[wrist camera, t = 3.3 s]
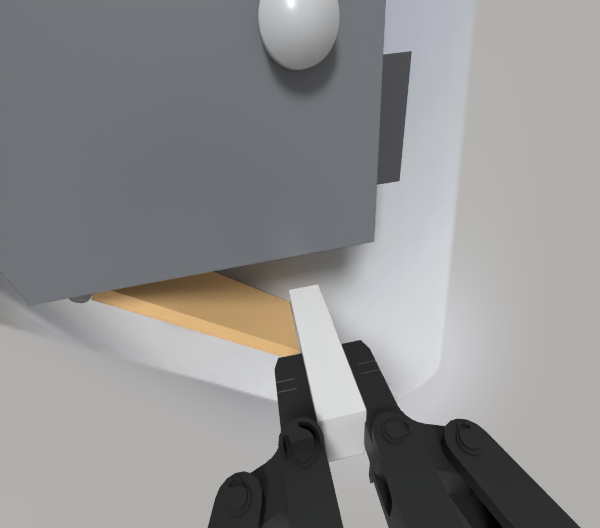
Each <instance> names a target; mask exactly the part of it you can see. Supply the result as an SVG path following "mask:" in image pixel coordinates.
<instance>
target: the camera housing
mask: <svg viewBox="0 0 600 528" xmlns="http://www.w3.org/2000/svg"><path fill="white" fill-rule="evenodd" d="M385 5H386V0H0V272H1V273H2V274H3V276H4V277H5V278H6V279H7V280H8V281H9V283H10V284H11V285H12V286H13V287H14V288H15V290H16V291H17V292H18V293H19V294H20V296H21V297H22V298H23V299H24V300H25V301H26V303H27V304H28V305H34V304H39V303H45V302H50V301H56V300H61V299H66V298H72V297H77V296H83V295H88V294H93V293H99V292H104V291H110V290H115V289H120V288H126V287H131V286H137V285H142V284H147V283H153V282H158V281H164V280H169V279H174V278H180V277H185V276H191V275H196V274H201V273H207V272H212V271H218V270H223V269H228V268H234V267H239V266H245V265H250V264H255V263H261V262H266V261H272V260H277V259H282V258H288V257H293V256H299V255H304V254H310V253H315V252H320V251H326V250H331V249H337V248H342V247H347V246H353V245H358V244H364V243H369V242H374V231H375V211H376V190H377V185H378V184H384V183H390V182H396V181H399V180H400V170H401V159H402V148H403V137H404V127H405V116H406V105H407V95H408V84H409V73H410V62H411V52H412V51H410V52H402V53H393V54H385V55H383V46H384V26H385Z"/></svg>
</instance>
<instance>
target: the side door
mask: <svg viewBox="0 0 600 528" xmlns="http://www.w3.org/2000/svg"><path fill="white" fill-rule="evenodd" d="M92 295H93V296H92ZM91 296H92V299H91V300H95V301H98V302H101V303H105V304H108V305H111V306H115V307H118V308H121V309H125V310H128V311H131V312H135V313H138V314H141V315H145V316H148V317H151V318H155V319H158V320H162V321H165V322H168V323H172V324H175V325H178V326H182V327H185V328H188V329H192V330H195V331H198V332H202V333H205V334H208V335H212V336H215V337H219V338H222V339H225V340H229V341H232V342H235V343H239V344H242V345H245V346H249V347H252V348H255V349H259V350H262V351H265V352H269V353H272V354H275V355H279V356H282V357H286V356H290V355H295V354H298V353H299V352H300V350H299V345H298V340H297V336H296V331H295V325H294V321H293V316H292V312H291V307H290V303H289V302H288V301H285V300H283V299H280V298H278V297H275V296H273V295H270V294H268V293H266V292H263V291H261V290H258V289H256V288H253V287H251V286H248V285H246V284H243V283H241V282H238V281H236V280H233V279H231V278H228V277H226V276H223V275H221V274H218V273H216V272H213V271H212V272H207V273H201V274H196V275H191V276H185V277H180V278H174V279H169V280H164V281H158V282H153V283H147V284H142V285H137V286H131V287H126V288H120V289H115V290H110V291H104V292H99V293H93V294H88V295H83V296H77V297H72V298H69V299H70V300H71V301H73V302H76V303H85V302H87V301H88V300H89V299H90V298H91Z"/></svg>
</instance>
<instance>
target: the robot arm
mask: <svg viewBox="0 0 600 528" xmlns="http://www.w3.org/2000/svg"><path fill="white" fill-rule="evenodd" d="M289 295H290V301H291V307H292V313H293V319H294V325H295V331H296V336H297V340H298V345H299V350H300V354H295V355H290V356H286V357H281V358H278V361H277V364H276V367H275V378H276V387H277V397H278V406H279V416H280V425H281V433H280V435H279V444H278V446H279V447H278V449H277V452H276V453H275V454H274V456H273V457H272V458H271V459H270V460H269V461H267V462H266V463H265V464H263V465H262V466H260V467H259V468H257V469H256V470H254V471H253V472H251V473H248V472H239V473H235V474H233V475H232V476H230V477H229V478H227V479H226V480H225V482H224V483H223V485H221V487H220V488H219V491H218V493H217V496H216V498H215V502H214V506H213V509H212V513H211V517H210V521H209V525H208V528H343V524H342V520H341V516H340V511H339V507H338V502H337V498H336V494H335V489H334V485H333V480H332V476H331V472H330V467H329V463H328V462H331V461H335V460H339V459H343V458H347V457H351V456H355V455H359V454H363V453H365V449H366V452H367V455H368V457H369V461H370V468H369V469H370V470H369V478H370V483H373V481H374V484H375V487H376V490H377V494H378V497H379V500H380V503H381V506H382V509H383V512H384V515H385V518H386V521H387V524H388V527H389V528H580V527H579V526H578V525H577V524H576V523H575V522H574V521H573V520H572V519H571V518H570V517H569V516H568V514H567V513H566V512H564V510H562V508H561V507H560V506H559V505H558V504H557V503H556V502H555V501H554V500H553V499H552V498H551V497H550V496H549V495H548V494H546V492H545V491H544V490H543V489H542V488H541V487H540V486H539V485H538V484H537V483H536V482H535V481H534V480H533V479H532V478H531V477H530V476H529V475H528V474H527V473H526V472H525V471H524V470H523V469H522V468H521V467H520V466H519V465H518V464H517V463H516V462H515V461H514V460H513V459H512V458H511V457H510V456H509V455H508V454H507V453H506V452H505V451H504V450H503V448H502V447H501V446H499V444H498V443H497V442H496V441H495V440H494V439H493V438H492V437H491V436H490V435H489V434H488V433H487V432H486V431H485V430H483V429H482V428H481V427H480V426H478V425H477V424H475V423H473V422H471V421H469V420H465V419H455V420H451V421H450V422H449V423H448V424H447V425H446V426H439V425H430V424H423V423H419V422H416V421H414V420H412V419H410V418H409V417H408V416H406V415H405V414H404V413H403V412H402V411H401V410H400V408H399V407H398V405H397V403H396V401H395V399H394V397H393V395H392V393H391V391H390V389H389V387H388V385H387V383H386V381H385V379H384V377H383V375H382V373H381V371H380V369H379V367H378V365H377V362H376V361H375V358H374V356H373V354H372V352H371V350H370V348H368V347H367V346H366V345H365V344H364V343H363V342H362V341H361V340H359V341H354V342H349V343H344V344H341V343H340V340H339V337H338V335H337V332H336V330H335V327H334V324H333V322H332V319H331V317H330V314H329V311H328V309H327V306H326V304H325V301H324V298H323V296H322V293H321V290H320V288H319V285H312V286H307V287H302V288H297V289H291V290H289Z"/></svg>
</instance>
